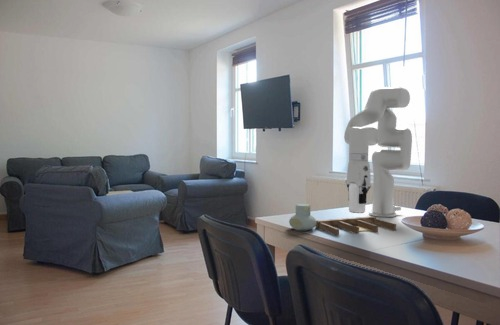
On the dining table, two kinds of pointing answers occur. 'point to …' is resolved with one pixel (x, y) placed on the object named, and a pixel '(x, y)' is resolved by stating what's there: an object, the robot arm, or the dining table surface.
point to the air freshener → (302, 218)
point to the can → (355, 199)
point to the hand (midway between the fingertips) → (357, 201)
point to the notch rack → (353, 224)
